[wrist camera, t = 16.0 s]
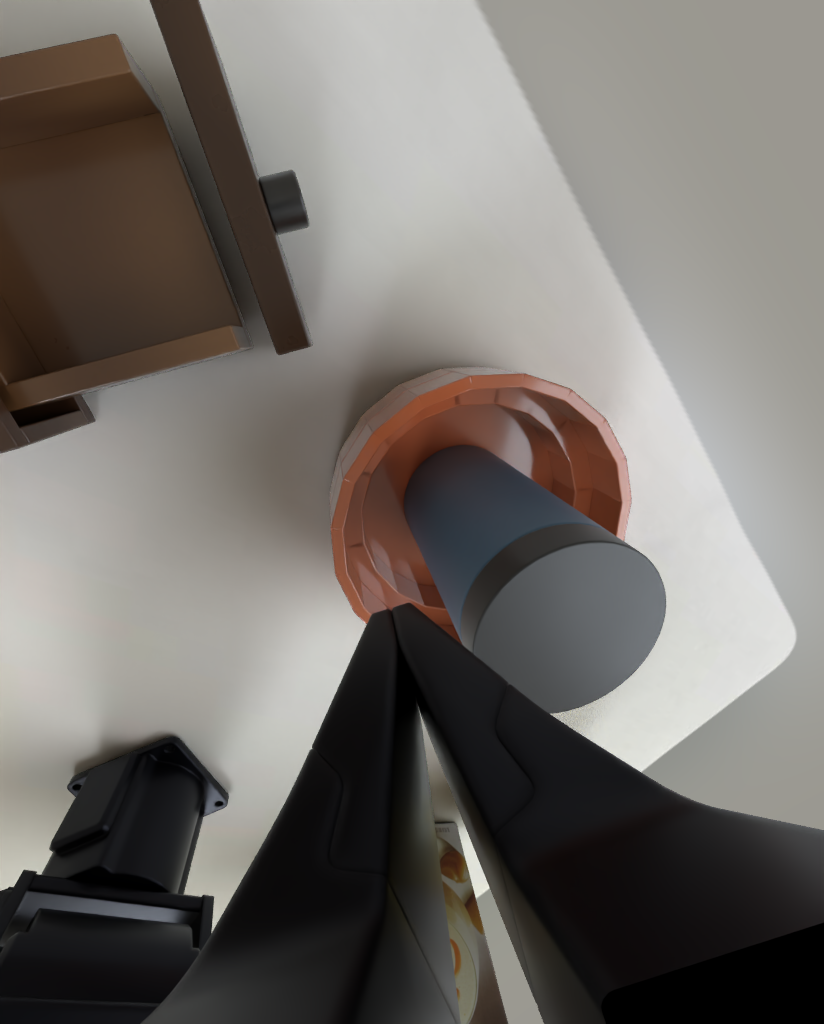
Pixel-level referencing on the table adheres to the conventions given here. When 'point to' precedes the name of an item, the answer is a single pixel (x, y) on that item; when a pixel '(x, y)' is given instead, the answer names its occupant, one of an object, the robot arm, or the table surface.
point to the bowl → (450, 422)
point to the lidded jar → (532, 579)
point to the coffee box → (467, 936)
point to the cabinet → (41, 422)
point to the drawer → (128, 219)
